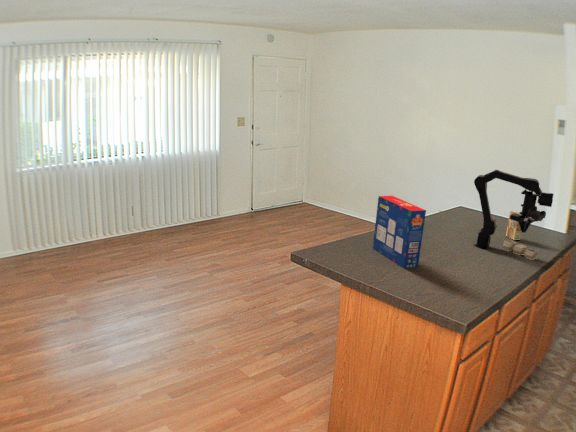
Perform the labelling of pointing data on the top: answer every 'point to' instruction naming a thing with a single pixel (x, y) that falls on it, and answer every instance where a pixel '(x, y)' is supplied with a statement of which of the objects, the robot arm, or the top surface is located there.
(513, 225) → the candy box
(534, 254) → the three mark block
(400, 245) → the blue toy box
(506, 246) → the two mark block
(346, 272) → the top surface
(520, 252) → the plain block
